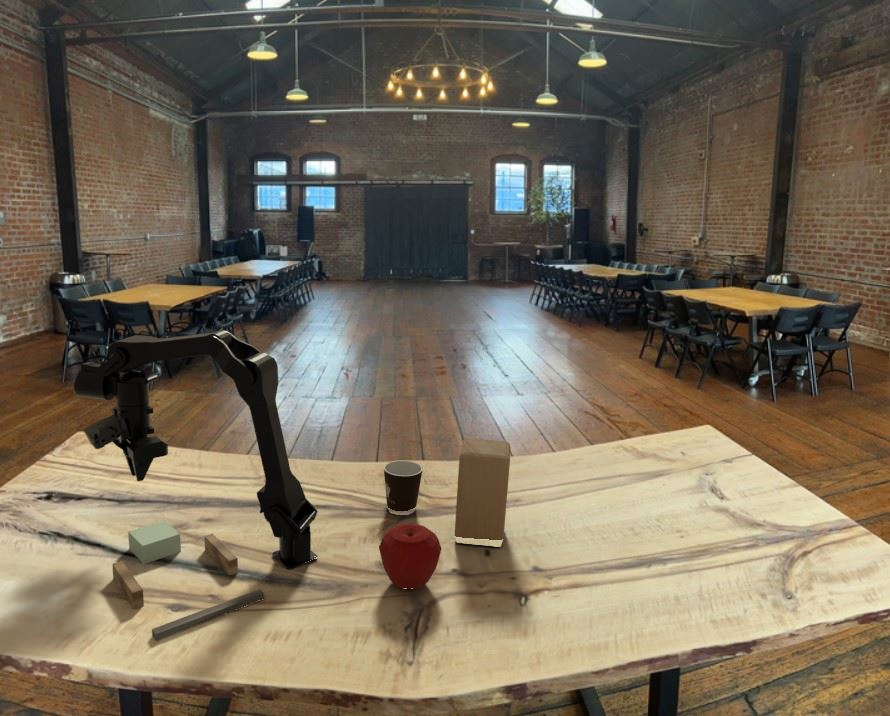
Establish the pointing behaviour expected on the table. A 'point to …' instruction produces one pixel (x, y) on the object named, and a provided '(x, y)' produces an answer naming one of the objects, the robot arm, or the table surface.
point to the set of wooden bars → (231, 567)
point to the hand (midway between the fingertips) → (137, 477)
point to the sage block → (154, 541)
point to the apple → (409, 554)
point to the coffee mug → (402, 484)
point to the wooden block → (482, 489)
